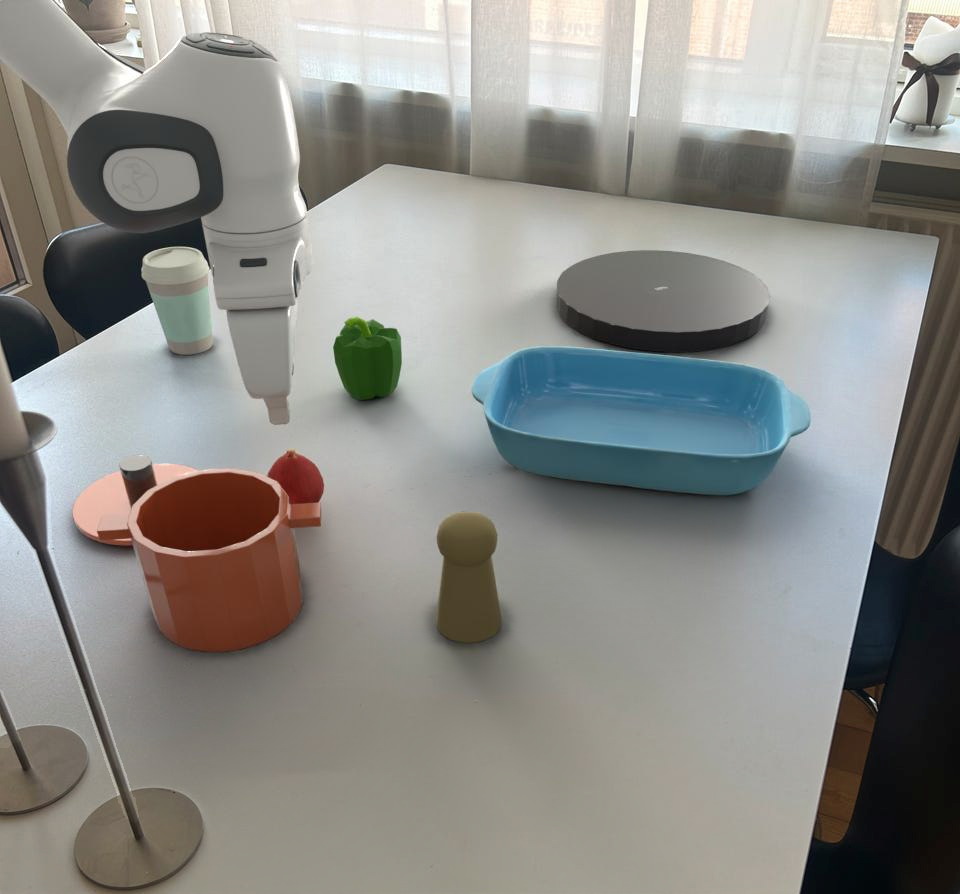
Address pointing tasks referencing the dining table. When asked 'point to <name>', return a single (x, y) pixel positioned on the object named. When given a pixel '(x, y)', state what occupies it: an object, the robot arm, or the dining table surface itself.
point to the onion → (298, 478)
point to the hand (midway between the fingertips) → (283, 396)
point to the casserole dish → (639, 418)
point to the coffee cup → (180, 297)
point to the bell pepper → (368, 358)
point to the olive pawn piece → (467, 578)
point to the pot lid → (120, 493)
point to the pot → (217, 556)
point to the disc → (662, 300)
